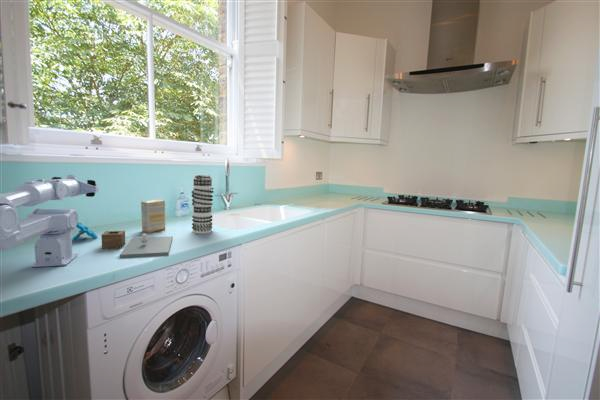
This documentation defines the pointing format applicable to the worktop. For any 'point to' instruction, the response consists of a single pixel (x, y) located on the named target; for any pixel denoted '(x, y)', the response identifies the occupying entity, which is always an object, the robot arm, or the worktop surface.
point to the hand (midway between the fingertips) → (82, 186)
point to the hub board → (147, 246)
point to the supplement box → (153, 215)
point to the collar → (113, 239)
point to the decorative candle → (202, 204)
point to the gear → (84, 231)
